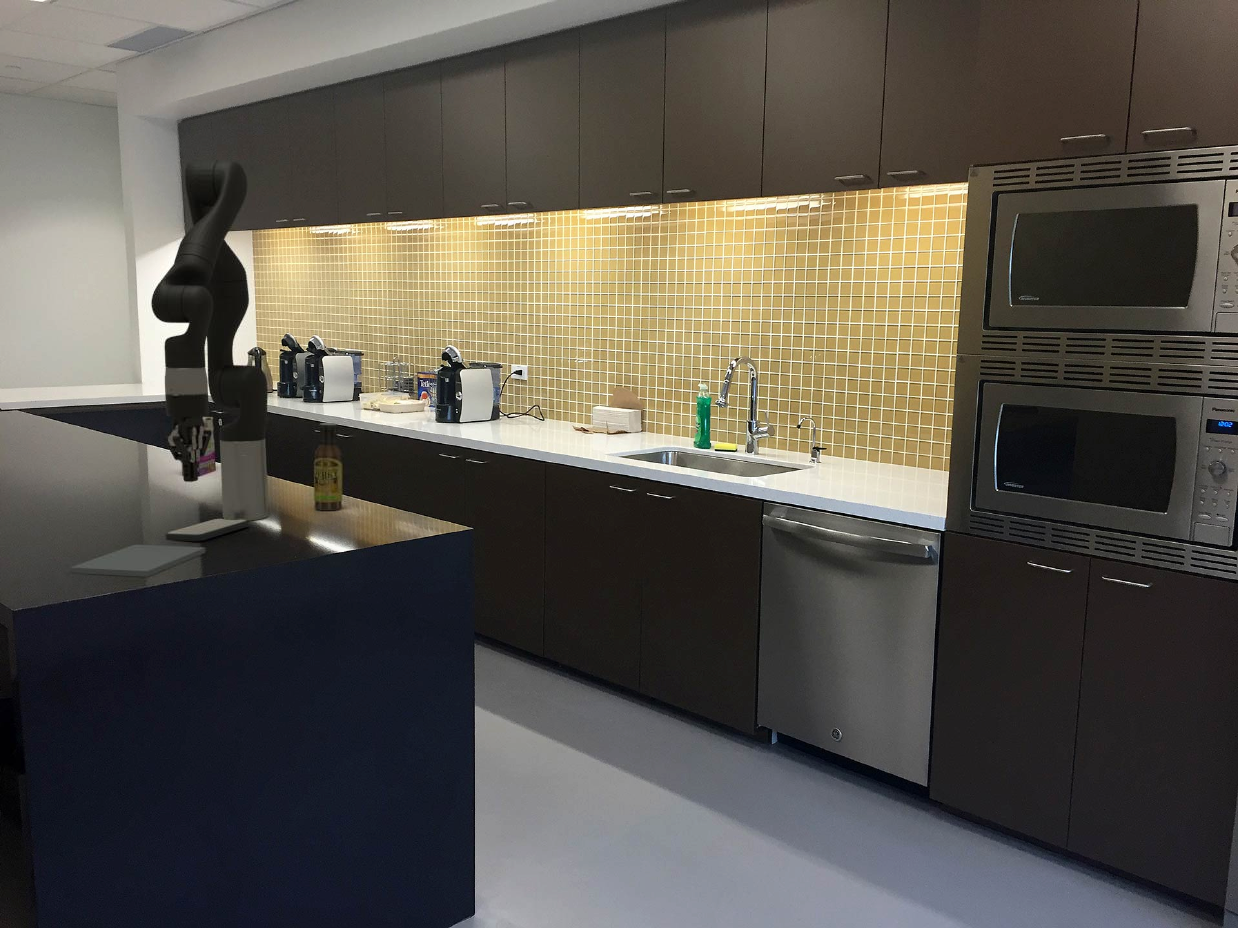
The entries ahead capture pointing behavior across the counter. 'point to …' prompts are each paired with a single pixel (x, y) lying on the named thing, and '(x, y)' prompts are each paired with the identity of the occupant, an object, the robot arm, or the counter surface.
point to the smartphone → (207, 530)
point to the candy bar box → (207, 452)
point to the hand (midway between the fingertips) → (190, 481)
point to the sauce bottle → (328, 470)
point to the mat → (138, 560)
